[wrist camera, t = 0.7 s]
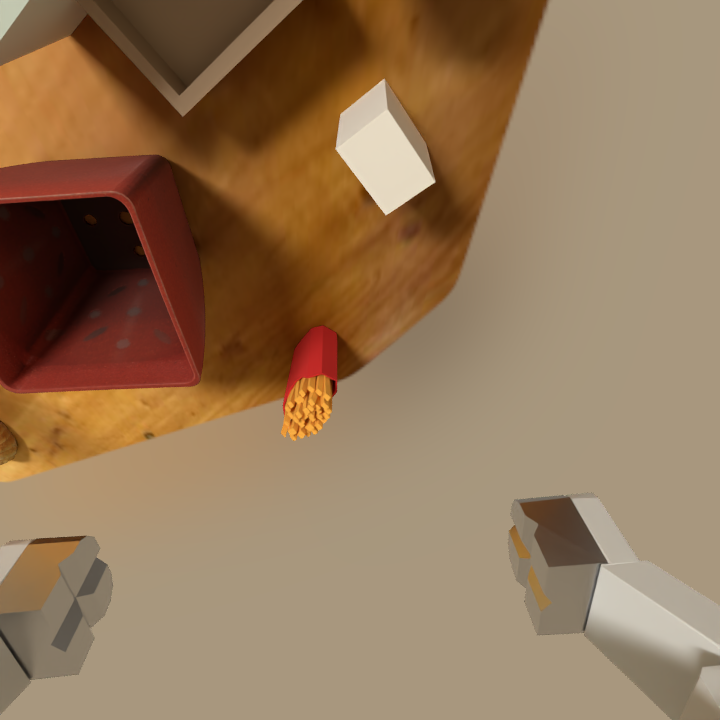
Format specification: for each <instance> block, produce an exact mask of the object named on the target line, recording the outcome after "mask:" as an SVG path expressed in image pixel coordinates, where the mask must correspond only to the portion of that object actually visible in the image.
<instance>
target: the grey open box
mask: <svg viewBox="0 0 720 720" xmlns="http://www.w3.org/2000/svg"><path fill="white" fill-rule="evenodd" d="M301 1H303V0H0V66H1V65H3V64H5V63H8V62H10V61H12V60H15V59H17V58H19V57H22V56H24V55H26V54H28V53H31V52H33V51H35V50H38V49H40V48H42V47H45V46H47V45H49V44H51V43H54V42H56V41H58V40H61V39H63V38H65V37H68V36H70V35H71V34H72V33H73V31H74V30H75V29H76V28H77V26H78V25H79V24H80V23H81V21H82V20H83V19H84V18H85V16H86V15H87V14H89V16H90V17H91V18H92V19H93V20H94V21H95V22H96V23H97V24H98V25H99V26H100V28H101V29H102V30H103V31H104V32H105V33H106V34H107V35H108V36H109V37H110V38H111V39H112V41H113V42H114V43H115V44H116V45H117V46H118V47H119V48H120V49H121V50H122V51H123V52H124V54H125V55H126V56H127V57H128V58H129V59H130V60H131V61H132V62H133V63H134V64H135V66H136V67H137V68H138V69H139V70H140V71H141V72H142V73H143V74H144V75H145V76H146V77H147V79H148V80H149V81H150V82H151V83H152V84H153V85H154V86H155V87H156V88H157V89H158V91H159V92H160V93H161V94H162V95H163V96H164V97H165V98H166V99H167V100H168V101H169V102H170V104H171V105H172V106H173V107H174V108H175V109H176V110H177V111H178V112H179V113H180V114H181V115H182V117H183V116H184V115H185V114H186V113H187V112H188V111H190V110H191V109H192V108H193V107H194V106H195V105H196V104H197V103H198V102H199V101H200V100H201V99H202V98H203V97H204V96H205V95H206V94H207V93H208V92H209V91H210V90H211V89H212V88H213V87H214V86H215V85H216V84H217V83H218V82H219V81H220V80H221V79H222V78H223V77H224V76H225V75H226V74H228V73H229V72H230V71H231V70H232V69H233V68H234V67H235V66H236V65H237V64H238V63H239V62H240V61H241V60H242V59H243V58H244V57H245V56H246V55H247V54H248V53H249V52H250V51H251V50H252V49H253V48H254V47H255V46H256V45H257V44H258V43H259V42H260V41H261V40H262V39H263V38H265V37H266V36H267V35H268V34H269V33H270V32H271V31H272V30H273V29H274V28H275V27H276V26H277V25H278V24H279V23H280V22H281V21H282V20H283V19H284V18H285V17H286V16H287V15H288V14H289V13H290V12H291V11H292V10H293V9H294V8H295V7H296V6H297V5H298V4H299V3H300V2H301Z"/></svg>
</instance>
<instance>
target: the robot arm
mask: <svg viewBox="0 0 720 720" xmlns="http://www.w3.org/2000/svg"><path fill="white" fill-rule="evenodd" d="M511 517H512V519H513V521H514V524H515V525H514V526H513V527H512V528H511V530H509V538H508V547H509V556H510V561H511V564H512V569H513V572H514V575H515V577H516V580H517V581H518V582H519V583H520V584H521V585H523V586H524V587H525V588H526V594H525V604H526V607H527V610H528V612H529V615H530V617H531V620H532V623H533V625H534V628H535V631H536V633H537V635H551V634H569V633H585V634H584V635H585V637H586V638H587V639H589V640H590V641H591V642H592V643H593V644H594V645H595V646H596V647H597V648H598V649H599V650H600V651H601V652H602V653H603V654H604V655H605V656H606V657H607V658H608V659H609V660H610V661H611V662H612V663H614V665H615V666H617V667H618V668H619V669H620V670H621V671H622V672H623V673H624V674H625V675H626V676H627V677H628V678H629V679H630V680H631V681H632V682H633V683H634V684H635V685H636V686H637V687H638V688H639V689H640V690H641V691H643V692H644V693H645V694H646V695H647V696H648V697H649V698H650V699H651V700H652V701H653V702H654V703H655V704H656V705H657V706H658V707H659V708H660V709H661V710H662V711H663V712H664V713H666V715H667V716H668V717H670V718H671V719H672V720H720V606H719V605H718V604H716V603H715V602H713V601H711V600H710V599H708V598H707V597H705V596H704V595H702V594H700V593H699V592H697V591H695V590H694V589H692V588H691V587H689V586H688V585H686V584H685V583H683V582H681V581H680V580H678V579H677V578H675V577H673V576H672V575H670V574H669V573H667V572H665V571H664V570H662V569H661V568H659V567H658V566H656V565H654V564H653V563H651V562H650V561H640V560H639V559H638V557H637V556H636V554H635V553H634V551H633V550H632V548H631V547H630V545H629V544H628V542H627V541H626V539H625V538H624V536H623V535H622V533H621V532H620V530H619V529H618V527H617V526H616V524H615V523H614V521H613V520H612V518H611V517H610V515H609V513H608V512H607V510H606V509H605V508H604V506H603V504H602V503H601V501H600V500H599V498H598V497H597V496H596V495H595V494H593V493H582V494H571V495H566V496H564V495H561V496H549V497H539V498H528V499H519V500H518V499H517V500H514V501H513V504H512V508H511ZM99 550H100V547H99V545H98V544H97V541H96V540H95V538H94V537H92V536H75V537H57V538H41V539H31V540H15V541H9V542H8V543H6V544H5V545H3V546H2V547H1V548H0V715H1V714H2V712H3V711H4V710H5V709H6V708H7V707H8V706H9V705H10V704H11V703H12V702H13V701H14V700H15V699H16V698H17V697H18V696H19V695H20V693H21V692H23V690H24V689H25V688H26V687H27V686H28V685H29V684H30V683H31V681H30V680H34V679H42V678H51V677H60V676H68V675H77V674H79V672H80V670H81V667H82V665H83V663H84V661H85V659H86V656H87V654H88V651H89V649H90V647H91V645H92V643H93V641H94V635H93V632H92V629H91V627H92V626H94V624H96V623H97V622H98V621H99V620H100V619H101V618H102V617H103V616H104V615H105V613H106V611H107V608H108V606H109V603H110V601H111V594H112V588H113V582H112V574H111V571H110V569H109V567H108V565H107V564H106V563H104V562H103V561H101V560H100V559H98V558H96V556H97V554H98V552H99Z"/></svg>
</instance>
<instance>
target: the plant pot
mask: <svg viewBox="0 0 720 720" xmlns="http://www.w3.org/2000/svg"><path fill="white" fill-rule="evenodd" d="M121 212H128V213H130V215H131V217H132V220H133V222H134V223H133V224H132V225H126V224H124V223H122V222H121V220H120V219H119V214H120V213H121ZM88 214H89V215H92V216H93V217H95V218H96V220H97V224H95V226H90V225H88V224H87V223H86V222H85V220H84V216H85V215H88ZM135 246H141V247H143V249H144V252H145V254H146V255H145V256H142V257H141V256H138V255H137V254H135V252H134V250H133V249H134V247H135ZM204 346H205V302H204V289H203V280H202V272H201V265H200V260H199V256H198V253H197V249H196V246H195V243H194V240H193V237H192V234H191V230H190V227H189V224H188V221H187V218H186V215H185V211H184V208H183V205H182V202H181V199H180V195H179V192H178V189H177V186H176V183H175V179H174V176H173V173H172V170H171V167H170V164H169V162H168V161H167V160H166V159H165V158H164V157H162V156H160V155H141V156H124V157H107V158H91V159H74V160H58V161H45V162H36V163H29V164H22V165H16V166H10V167H4V168H0V384H1V385H2V386H3V387H4V388H5V389H7V390H9V391H11V392H14V393H42V392H63V391H85V390H108V389H135V388H160V387H190V386H195V385H197V384H198V383H199V382H200V378H201V373H202V367H203V358H204Z"/></svg>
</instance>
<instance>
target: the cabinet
mask: <svg viewBox="0 0 720 720" xmlns="http://www.w3.org/2000/svg"><path fill="white" fill-rule="evenodd" d="M336 150H337V152H338V153H339V154H340V156H341V157H342V158H343V160H344V161H345V162H346V163H347V165H348V166H349V167H350V169H351V170H352V171H353V173H354V174H355V175H356V177H357V178H358V179H359V181H360V182H361V183H362V185H363V186H364V187H365V188H366V190H367V191H368V192H369V194H370V195H371V196H372V198H373V199H374V200H375V202H376V203H377V204H378V206H379V207H380V208H381V210H382V211H383V212H384V213H385V215H387V214H389V213H390V212H392V211H393V210H395V209H396V208H398V207H399V206H401V205H402V204H404V203H405V202H407V201H408V200H410V199H411V198H412V197H414V196H415V195H417V194H418V193H420V192H421V191H423V190H424V189H426V188H427V187H429V186H430V185H432V184H433V183H435V178H434V174H433V170H432V165H431V161H430V157H429V153H428V149H427V145H426V143H425V141H424V140H423V138H422V136H421V135H420V133H419V132H418V130H417V129H416V127H415V125H414V124H413V122H412V121H411V119H410V118H409V116H408V114H407V113H406V111H405V110H404V108H403V107H402V105H401V103H400V102H399V100H398V99H397V97H396V96H395V94H394V92H393V91H392V89H391V88H390V86H389V85H388V83H387V81H386V80H385V78H384V79H383V80H382V81H381V82H380V83H378V84H377V85H376V86H375V87H373V88H372V89H371V90H370V91H368V92H367V93H366V94H365V95H364V96H362V97H361V98H360V99H359V100H357V101H356V102H355V103H354V104H353V105H351V106H350V107H349V108H348V109H346V110H345V111H344V112H343V113H341V114H340V121H339V129H338V136H337V144H336Z"/></svg>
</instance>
